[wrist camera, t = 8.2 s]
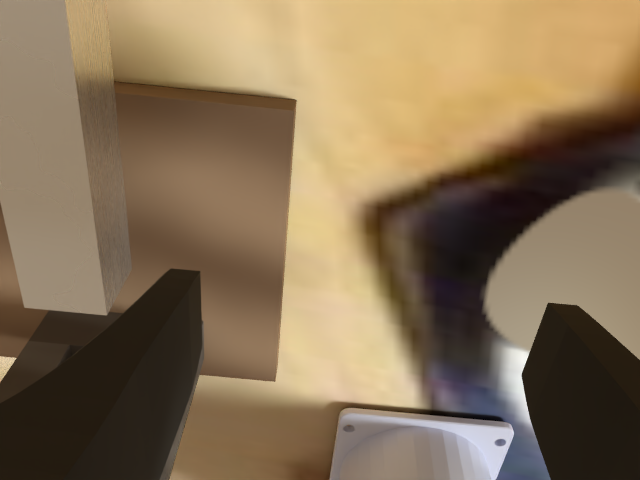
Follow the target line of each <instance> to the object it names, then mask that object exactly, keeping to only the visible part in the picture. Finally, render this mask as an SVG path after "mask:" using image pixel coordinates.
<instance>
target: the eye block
mask: <svg viewBox="0 0 640 480" xmlns="http://www.w3.org/2000/svg"><path fill="white" fill-rule="evenodd" d="M114 88H115V99H116V109H117V119H118V129H119V139H120V149H121V159H122V170H123V180H124V190H125V200H126V210H127V220H128V231H129V241H130V251H131V261H132V270H131V271H130V273H129V275H128V277H127V279H126V281H125V283H124V285H123V286H122V288H121V290H120V292H119V294H118V296H117V298H116V300H115V301H114V303H113V305H112V307H111V309H110V311H109V313H108V314H107V315H96V314H86V313H75V312H65V311H54V310H43V309H33V308H24V304H23V299H22V295H21V290H20V286H19V282H18V277H17V273H16V269H15V264H14V260H13V255H12V251H11V247H10V242H9V238H8V234H7V229H6V225H5V220H4V216H3V212H2V207H1V203H0V356H4V357H15V358H17V359H16V360H15V362H14V363H13V365H12V366H11V368H10V369H9V371H8V372H7V373H6V375H5V376H4V378H3V379H2V381H1V382H0V403H2V402H4V401H5V400H7V399H9V398H10V397H12V396H14V395H16V394H17V393H19V392H21V391H22V390H24V389H25V388H27V387H29V386H30V385H32V384H33V383H35V382H36V381H38V380H39V379H41V378H42V377H44V376H45V375H47V374H48V373H49V372H51V371H52V370H54V369H55V368H56V367H58V366H59V365H60V364H62V363H63V362H64V361H66V360H67V359H69V358H70V357H71V356H72V355H74V354H75V353H76V352H77V351H79V350H80V349H81V348H82V347H84V346H85V345H86V344H87V343H89V342H90V341H91V340H92V339H94V338H95V337H96V336H97V335H99V334H100V333H101V332H102V331H103V330H104V329H106V328H107V327H108V326H109V325H110V324H111V323H112V322H113V321H115V320H116V319H117V318H118V317H119V316H120V315H121V314H122V313H124V312H125V311H126V310H127V309H128V308H129V307H130V306H131V305H132V304H133V303H134V302H135V301H137V300H138V299H139V298H140V297H141V296H142V295H143V294H144V293H145V292H146V291H147V290H148V289H149V288H150V287H151V286H152V285H153V284H154V283H155V282H156V281H157V280H158V279H159V278H160V277H161V276H162V275H163V274H164V273H165V272H167V271H168V270H169V269H171V268H173V269H184V270H195V271H200V277H201V312H202V350H201V355H200V359H199V364H198V369H197V373H196V377H195V381H194V385H193V389H192V392H191V395H190V398H189V401H188V404H187V406H186V409H185V412H184V415H183V417H182V420H181V423H180V426H179V428H178V431H177V434H176V437H175V439H174V442H173V445H172V448H171V450H170V453H169V456H168V459H167V461H166V464H165V467H164V469H163V472H162V475H161V478H160V480H169V478H170V474H171V471H172V467H173V464H174V461H175V457H176V454H177V450H178V447H179V443H180V440H181V436H182V433H183V429H184V426H185V423H186V419H187V416H188V412H189V409H190V405H191V402H192V398H193V395H194V392H195V388H196V385H197V381H198V378H199V375H209V376H220V377H230V378H241V379H252V380H263V381H274V382H275V380H276V373H277V365H278V352H279V338H280V324H281V310H282V296H283V282H284V268H285V254H286V240H287V226H288V212H289V198H290V184H291V170H292V156H293V142H294V128H295V114H296V100H290V99H280V98H270V97H260V96H251V95H241V94H231V93H221V92H211V91H201V90H191V89H181V88H171V87H161V86H151V85H141V84H132V83H122V82H114Z"/></svg>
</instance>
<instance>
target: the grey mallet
mask: <svg viewBox="0 0 640 480" xmlns="http://www.w3.org/2000/svg"><path fill="white" fill-rule="evenodd" d="M0 203H1V207H2V212H3V216H4V220H5V225H6V229H7V234H8V238H9V242H10V247H11V251H12V255H13V260H14V264H15V269H16V273H17V277H18V282H19V286H20V290H21V295H22V299H23V304H24V308H33V309H43V310H54V311H65V312H75V313H86V314H96V315H107V314H108V313H109V311H110V309H111V307H112V305H113V303H114V301H115V300H116V298H117V296H118V294H119V292H120V290H121V288H122V286H123V285H124V283H125V281H126V279H127V277H128V275H129V273H130V271H131V270H132V261H131V251H130V241H129V231H128V220H127V210H126V200H125V190H124V180H123V170H122V159H121V149H120V139H119V129H118V119H117V109H116V99H115V88H114V78H113V68H112V58H111V48H110V38H109V27H108V17H107V7H106V0H0Z"/></svg>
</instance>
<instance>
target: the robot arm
mask: <svg viewBox="0 0 640 480" xmlns="http://www.w3.org/2000/svg"><path fill="white" fill-rule="evenodd" d="M201 350H202V312H201V277H200V271H195V270H184V269H173V268H171V269H169V270H168V271H167V272H165V273H164V274H163V275H162V276H161V277H160V278H159V279H158V280H157V281H156V282H155V283H154V284H153V285H152V286H151V287H150V288H149V289H148V290H147V291H146V292H145V293H144V294H143V295H142V296H141V297H140V298H139V299H138V300H137V301H135V302H134V303H133V304H132V305H131V306H130V307H129V308H128V309H127V310H126V311H125V312H124V313H122V314H121V315H120V316H119V317H118V318H117V319H116V320H115V321H113V322H112V323H111V324H110V325H109V326H108V327H107V328H106V329H104V330H103V331H102V332H101V333H100V334H99V335H97V336H96V337H95V338H94V339H92V340H91V341H90V342H89V343H87V344H86V345H85V346H84V347H82V348H81V349H80V350H79V351H77V352H76V353H75V354H74V355H72V356H71V357H70V358H69V359H67V360H66V361H64V362H63V363H62V364H60V365H59V366H58V367H56V368H55V369H54V370H52V371H51V372H49V373H48V374H47V375H45V376H44V377H42V378H41V379H39V380H38V381H36V382H35V383H33V384H32V385H30V386H29V387H27V388H25V389H24V390H22V391H21V392H19V393H17V394H16V395H14V396H12V397H10V398H9V399H7V400H5V401H4V402H2V403H0V480H160V478H161V475H162V472H163V469H164V467H165V464H166V461H167V459H168V456H169V453H170V450H171V448H172V445H173V442H174V439H175V437H176V434H177V431H178V428H179V426H180V423H181V420H182V417H183V415H184V412H185V409H186V406H187V404H188V401H189V398H190V395H191V392H192V389H193V385H194V381H195V377H196V373H197V369H198V364H199V359H200V355H201ZM522 380H523V385H524V391H525V396H526V401H527V406H528V411H529V415H530V420H531V423H532V426H533V429H534V432H535V435H536V438H537V441H538V444H539V447H540V450H541V453H542V455H543V458H544V461H545V464H546V467H547V470H548V473H549V475H550V478H551V480H640V360H639V359H638V358H637V357H636V356H635V355H633V354H632V353H631V352H630V351H629V350H628V349H627V348H626V347H625V346H623V345H622V344H621V343H620V342H619V341H618V340H617V339H616V338H615V337H613V336H612V335H611V334H610V333H609V332H608V331H607V330H606V329H605V328H603V327H602V326H601V325H600V324H599V323H598V322H596V320H594V319H593V318H592V317H591V316H590V315H589V314H587V313H586V312H585V311H584V310H582V309H581V308H580V307H579V306H577V305H566V304H556V303H548V304H547V307H546V310H545V313H544V315H543V318H542V321H541V323H540V326H539V329H538V332H537V334H536V337H535V340H534V343H533V346H532V348H531V351H530V353H529V356H528V359H527V361H526V364H525V367H524V370H523V372H522ZM347 425H351V426H347ZM513 436H514V431H513V428H512V426H511V425H510V424H509V423H506V422H500V421H489V420H478V419H467V418H456V417H445V416H435V415H424V414H413V413H402V412H391V411H380V410H369V409H359V408H346V409H343V410H342V411H341V412H340V414H339V420H338V426H337V433H336V439H335V445H334V451H333V458H332V464H331V470H330V477H329V480H496V478H497V476H498V473H499V471H500V468H501V466H502V463H503V461H504V458H505V456H506V453H507V451H508V448H509V446H510V443H511V441H512V438H513Z"/></svg>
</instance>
